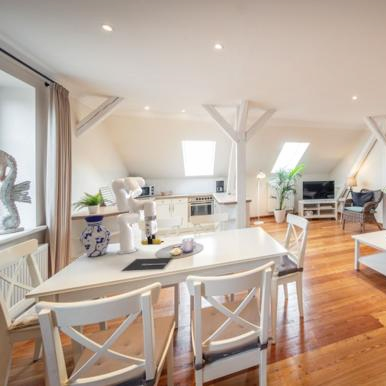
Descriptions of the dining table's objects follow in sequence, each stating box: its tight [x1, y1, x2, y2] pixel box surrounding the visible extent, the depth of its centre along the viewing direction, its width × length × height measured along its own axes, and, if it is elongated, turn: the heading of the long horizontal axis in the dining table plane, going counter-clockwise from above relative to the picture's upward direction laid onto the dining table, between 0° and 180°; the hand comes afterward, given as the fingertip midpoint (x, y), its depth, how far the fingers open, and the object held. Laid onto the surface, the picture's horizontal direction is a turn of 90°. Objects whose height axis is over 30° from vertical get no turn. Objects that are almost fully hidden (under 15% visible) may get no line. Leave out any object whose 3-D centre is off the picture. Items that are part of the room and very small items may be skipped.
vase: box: [79, 215, 112, 258], centre depth 174 cm, size 19×19×30 cm
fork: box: [141, 263, 166, 266], centre depth 156 cm, size 16×2×1 cm, turn 97°
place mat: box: [121, 257, 173, 272], centre depth 157 cm, size 20×26×1 cm
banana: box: [140, 238, 165, 246], centre depth 160 cm, size 15×4×4 cm, turn 95°
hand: (151, 242), depth 160 cm, fingers closed on banana, 4 cm apart
